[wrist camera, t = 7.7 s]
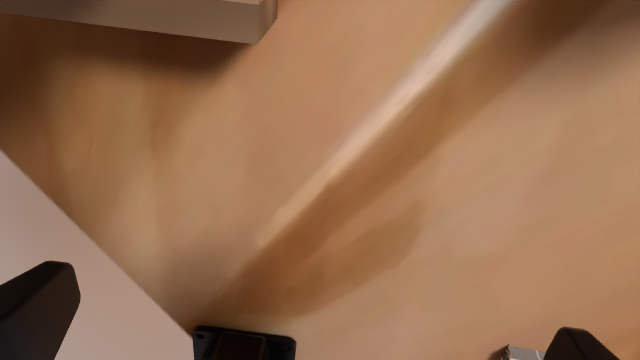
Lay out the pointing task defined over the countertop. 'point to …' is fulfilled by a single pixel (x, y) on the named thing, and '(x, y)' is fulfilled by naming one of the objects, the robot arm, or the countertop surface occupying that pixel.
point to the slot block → (161, 15)
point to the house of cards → (522, 354)
